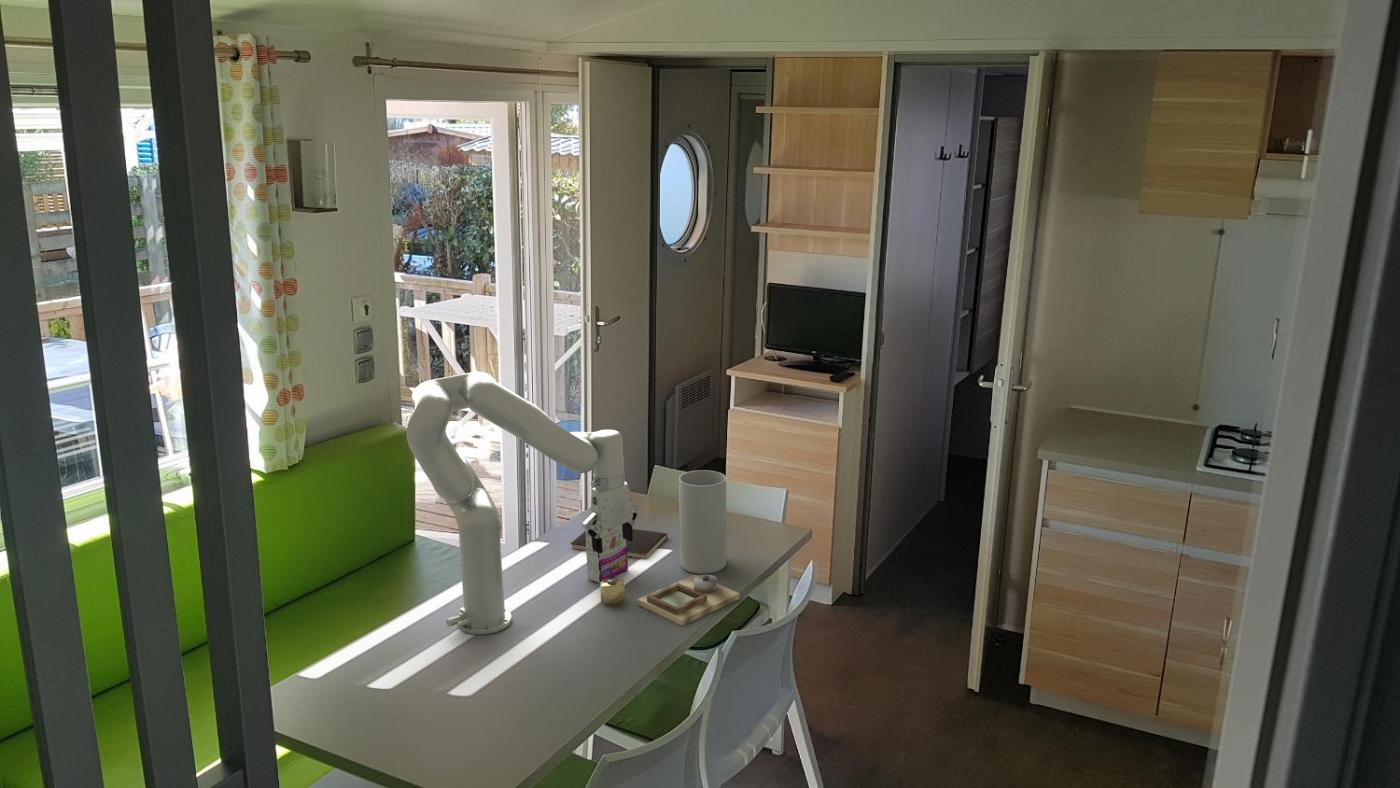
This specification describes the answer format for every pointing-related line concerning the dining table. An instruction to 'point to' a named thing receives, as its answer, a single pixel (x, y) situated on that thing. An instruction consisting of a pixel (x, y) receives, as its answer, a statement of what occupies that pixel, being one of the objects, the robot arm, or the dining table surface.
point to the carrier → (689, 599)
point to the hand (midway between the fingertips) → (612, 545)
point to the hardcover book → (632, 543)
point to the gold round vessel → (612, 592)
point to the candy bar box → (607, 555)
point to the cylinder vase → (702, 521)
